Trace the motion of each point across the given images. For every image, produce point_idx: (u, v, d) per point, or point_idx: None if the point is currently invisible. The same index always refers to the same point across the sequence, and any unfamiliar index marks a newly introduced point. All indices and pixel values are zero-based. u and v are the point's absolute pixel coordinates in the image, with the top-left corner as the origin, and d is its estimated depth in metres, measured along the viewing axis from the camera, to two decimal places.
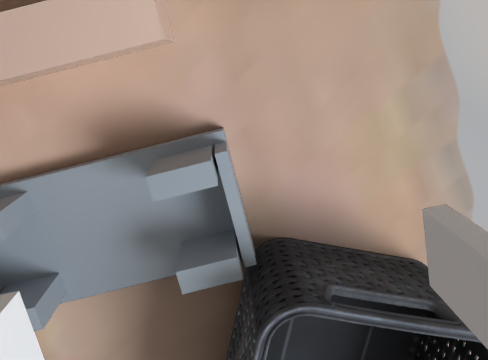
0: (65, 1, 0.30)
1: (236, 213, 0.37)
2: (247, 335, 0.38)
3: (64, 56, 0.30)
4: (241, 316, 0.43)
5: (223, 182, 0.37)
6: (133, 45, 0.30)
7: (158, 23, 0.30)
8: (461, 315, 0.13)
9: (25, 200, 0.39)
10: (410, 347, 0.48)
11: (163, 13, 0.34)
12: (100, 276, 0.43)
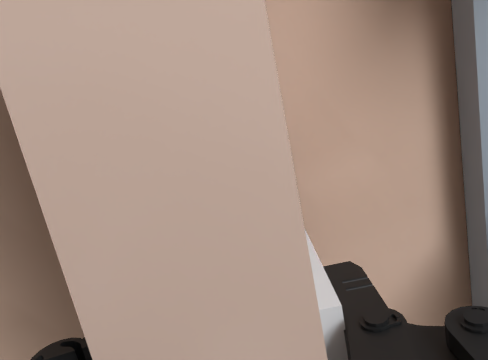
0: None
1: None
2: None
3: None
4: None
5: None
6: None
7: None
8: None
9: None
10: None
11: None
12: None
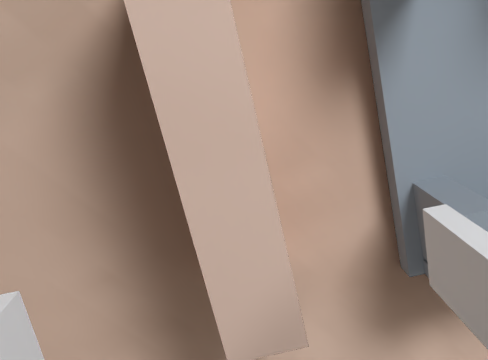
0: (149, 61, 0.19)
1: None
2: None
3: (234, 72, 0.19)
4: None
5: None
6: None
7: None
8: (461, 315, 0.13)
9: (427, 185, 0.27)
10: None
11: None
12: None
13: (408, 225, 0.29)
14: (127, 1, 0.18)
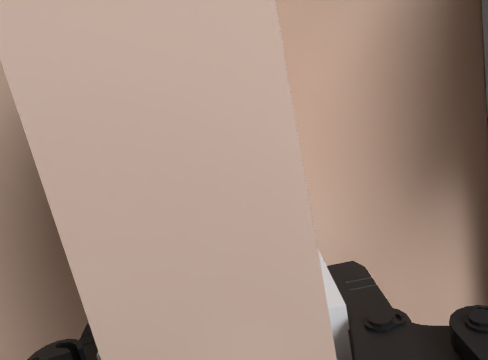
0: (85, 250, 0.07)
1: None
2: None
3: (294, 276, 0.08)
4: None
5: None
6: None
7: None
8: None
9: None
10: None
11: None
12: None
13: None
14: (25, 108, 0.07)
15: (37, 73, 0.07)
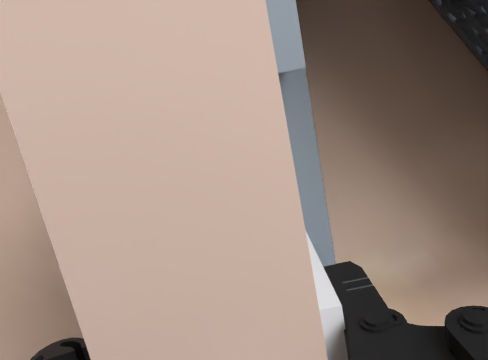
0: (76, 254, 0.07)
1: None
2: None
3: (285, 280, 0.08)
4: None
5: None
6: None
7: None
8: None
9: None
10: None
11: None
12: None
13: None
14: (15, 111, 0.07)
15: (27, 76, 0.07)
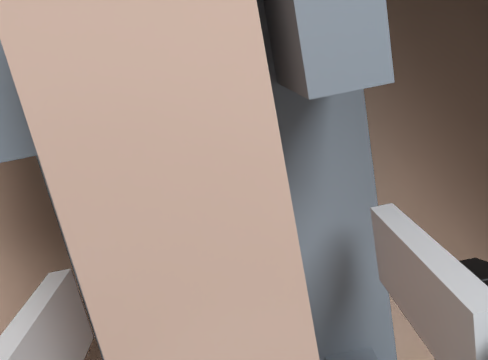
0: (83, 237, 0.08)
1: None
2: None
3: (276, 262, 0.08)
4: None
5: None
6: None
7: None
8: (401, 306, 0.14)
9: None
10: None
11: None
12: (345, 278, 0.19)
13: None
14: (30, 106, 0.07)
15: (40, 74, 0.07)
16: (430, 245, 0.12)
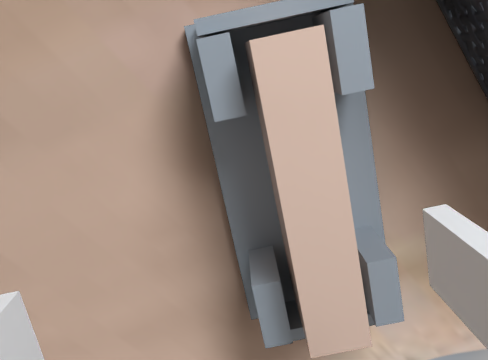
0: (274, 138, 0.26)
1: (277, 11, 0.29)
2: None
3: (333, 147, 0.26)
4: None
5: (234, 26, 0.29)
6: (328, 64, 0.25)
7: (305, 30, 0.24)
8: (462, 315, 0.13)
9: (255, 253, 0.37)
10: None
11: None
12: (356, 187, 0.36)
13: (247, 281, 0.38)
14: (262, 97, 0.25)
15: (266, 87, 0.25)
16: None
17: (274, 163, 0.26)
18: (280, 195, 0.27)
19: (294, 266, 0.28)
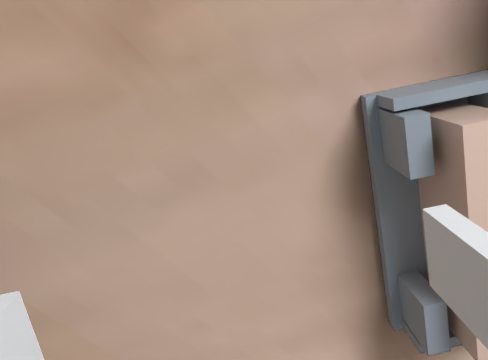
0: (471, 196, 0.34)
1: (457, 93, 0.37)
2: None
3: None
4: None
5: (423, 104, 0.37)
6: None
7: None
8: (461, 315, 0.13)
9: (406, 277, 0.45)
10: None
11: (460, 112, 0.37)
12: None
13: (394, 299, 0.46)
14: (466, 166, 0.33)
15: (470, 159, 0.33)
16: None
17: (469, 215, 0.34)
18: None
19: None
